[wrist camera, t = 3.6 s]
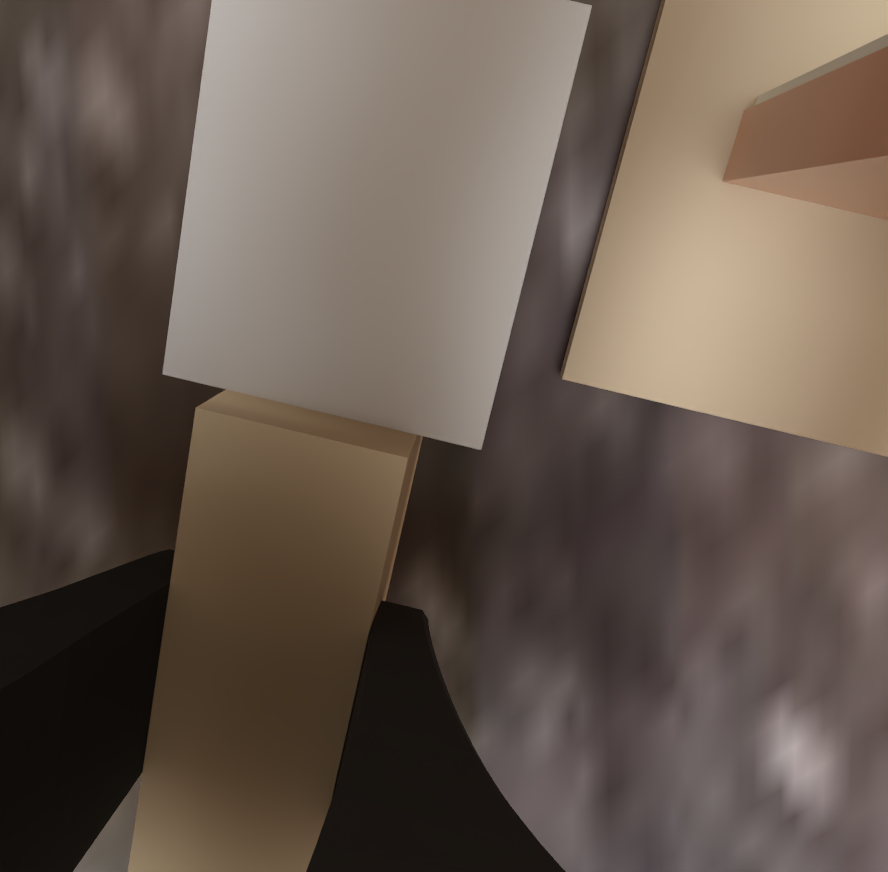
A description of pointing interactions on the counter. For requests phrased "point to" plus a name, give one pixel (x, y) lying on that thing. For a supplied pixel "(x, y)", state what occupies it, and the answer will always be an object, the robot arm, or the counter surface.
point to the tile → (821, 135)
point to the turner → (328, 372)
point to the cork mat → (736, 241)
